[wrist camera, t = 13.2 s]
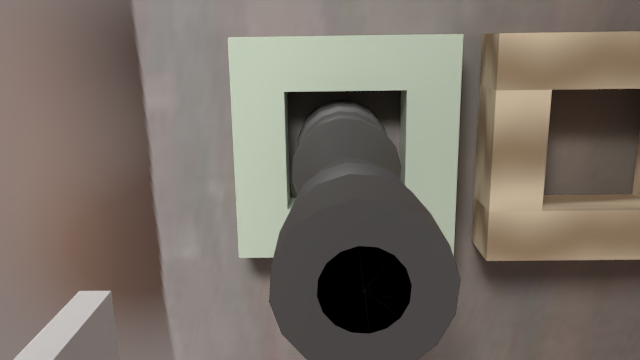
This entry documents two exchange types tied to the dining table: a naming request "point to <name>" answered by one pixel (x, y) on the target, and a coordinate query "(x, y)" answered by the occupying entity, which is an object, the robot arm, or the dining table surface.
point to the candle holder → (358, 248)
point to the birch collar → (531, 149)
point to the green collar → (341, 75)
